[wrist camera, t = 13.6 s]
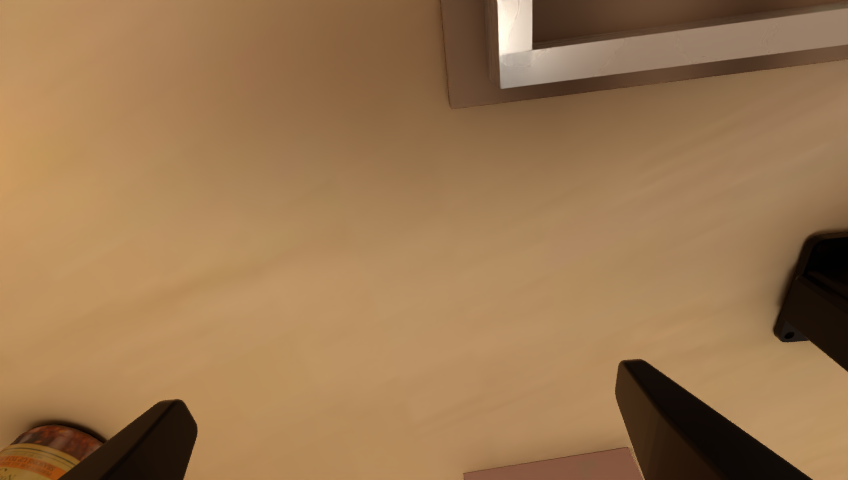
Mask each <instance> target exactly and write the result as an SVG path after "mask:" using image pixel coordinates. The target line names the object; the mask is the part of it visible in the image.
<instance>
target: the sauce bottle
mask: <svg viewBox="0 0 848 480" xmlns="http://www.w3.org/2000/svg"><path fill="white" fill-rule="evenodd" d="M103 444H104V443H102V442H100V441H98V440H97V439H95V438H93V437H92V436H91V435H89V434H87V433H84V432H82V431H80V430H77V429H74V428H70V427H66V426H60V425H56V424H54V425H46V426H41V427H36V428H33V429H31V430H29V431H28V432H26V433H23V434H22V435H20V436H19V437H18V438H17V439H16V440H15V441H14V442H13V443H12V444H11V445H9V446H8V447H6V448H5V449H3V450H2V451H1V452H0V480H57V479H58V478H60V477H61V476H62V475H64V474H65V473H66V472H68V471H69V470H70V469H71V468H73V467H74V466H75V465H77V464H78V463H79V462H81V461H82V460H83V459H85V458H86V457H87V456H88V455H90V454H91V453H92V452H94V451H95V450H96V449H98V448H99V447H100V446H102V445H103Z"/></svg>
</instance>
